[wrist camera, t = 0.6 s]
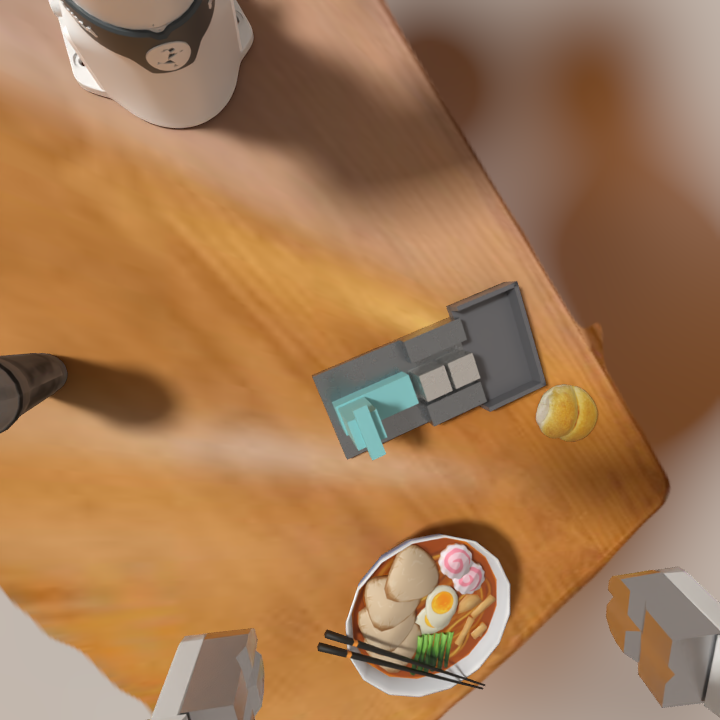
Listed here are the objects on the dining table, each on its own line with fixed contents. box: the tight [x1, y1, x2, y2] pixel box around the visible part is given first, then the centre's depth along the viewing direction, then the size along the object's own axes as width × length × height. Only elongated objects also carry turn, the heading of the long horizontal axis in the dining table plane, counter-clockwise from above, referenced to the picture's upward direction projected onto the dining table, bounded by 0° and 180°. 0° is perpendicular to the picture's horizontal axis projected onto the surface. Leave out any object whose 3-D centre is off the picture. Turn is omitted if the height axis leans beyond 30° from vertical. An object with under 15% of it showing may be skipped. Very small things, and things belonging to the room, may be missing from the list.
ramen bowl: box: [317, 534, 510, 697], centre depth 56 cm, size 25×23×8 cm
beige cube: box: [408, 361, 453, 402], centre depth 52 cm, size 4×4×4 cm
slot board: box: [312, 317, 487, 459], centre depth 53 cm, size 12×20×3 cm, turn 111°
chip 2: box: [435, 349, 480, 389], centre depth 53 cm, size 4×4×4 cm
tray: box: [446, 281, 546, 411], centre depth 56 cm, size 15×9×3 cm, turn 21°
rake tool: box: [332, 372, 419, 460], centre depth 49 cm, size 6×10×10 cm, turn 111°
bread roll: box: [536, 384, 597, 442], centre depth 60 cm, size 8×9×4 cm
